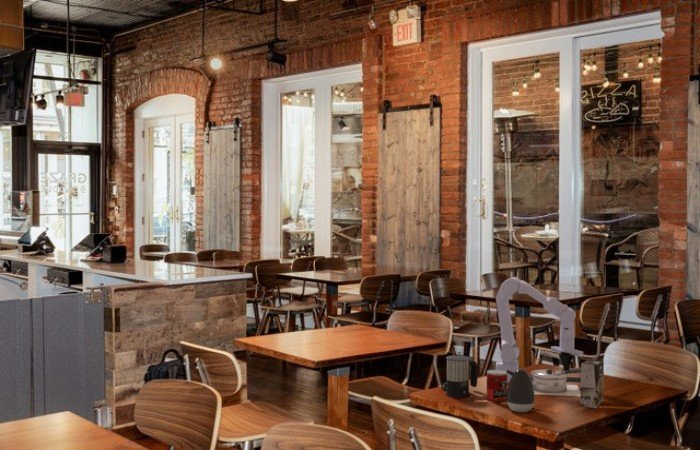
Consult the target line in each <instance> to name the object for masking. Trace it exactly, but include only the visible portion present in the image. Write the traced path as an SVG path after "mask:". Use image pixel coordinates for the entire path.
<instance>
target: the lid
mask: <svg viewBox="0 0 700 450" xmlns="http://www.w3.org/2000/svg"><path fill="white" fill-rule="evenodd" d="M579 373H580V374H581V367H576V368H575V367H573V368H569V369H563V368H561V371H560V370H555V369H552V368H546V369H535V370H531V371H530V375H532V376H534V377H538V378H543V379H564V378H567V377H569V375H571V374H579Z"/></svg>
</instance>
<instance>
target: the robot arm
mask: <svg viewBox="0 0 700 450" xmlns="http://www.w3.org/2000/svg"><path fill="white" fill-rule="evenodd" d="M516 293H518V294H526V295H528V296H529V297H531V298H532V299H534V300H536V301H537V302H539V303H541V304H542V306H543V309H544V310H545V311H547V312H549V313H550V314H552V315H553V316H555V317H556V318H559V321H560V326H559V346H556V345H554V346H550V352H556V353H559V354H558V357H559V359H560V361H561V364H562V369H570V366H571V363H572V361H573V359H574V358H575V356H576V357H579V358H580V357H581V358H582V357H583V356H584V351H582V350H579V349H575V329H576V327H575V319H576V315H577V314H576V312H575V310H574V309H573V308H572V307H569V306H568V305H567V304H563V303H562V302H560V301H558V298H557V297H553V296H550V297H547V295H545V294H543V293H542V292H540V291H539V290H537V289H536V288H535V287H533V285H531V284H529V283H528V282H526V281H525V280H523V279H522V280H521V278H519V277H517V276H512V277H509V278H507V279H505V280H504V281H503V282H502V283H501V284H500V287H499V290H498V291H497V294H496V296H495V302H496V308H497V315H498V322H499V328H500V335H501V344H500V347H501V351H500V359H501V360H500V361H495V362H496V365H495V370H503V371H507V370H509V371H512V372H515V371H516V370H518V369H520V368H519V365H520V364H519V363H520V362H519V360H518V358H519V356H520V352H521V351H520V348H519V347H518V345H517V341H516V339H515V334H514V329H513V324H512V323H513V322H512V316H511V310H510V309H511V308H510V302H509V300H510V299H511V298H512V297H513V295H514V294H516ZM511 377H512V376H511V375H510V374H508V373H507V384H509V382H510V379H511Z"/></svg>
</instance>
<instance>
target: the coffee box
mask: <svg viewBox="0 0 700 450" xmlns="http://www.w3.org/2000/svg"><path fill="white" fill-rule="evenodd" d="M604 363H605V362H604V361H603V360H602V361H601V360H589V359H588V360H585V361H583V362H581V364H580V368H581V373H580V378H581V383H580V389H579V390H580V396H579V404H580V405H581V407H583V408H591V409H597V408H599V407H600V406H601V403H603V402H604V373H605V372H604V365H605V364H604Z"/></svg>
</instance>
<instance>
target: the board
mask: <svg viewBox="0 0 700 450" xmlns="http://www.w3.org/2000/svg"><path fill="white" fill-rule="evenodd" d="M580 390H581V389H580V388H579V387H578V385H577V384H567V391H566V392H563V393H543V392H538V391H534V394H535V395H541V396H542V395H543V396H544V395H545V396H565V397H580Z"/></svg>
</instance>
